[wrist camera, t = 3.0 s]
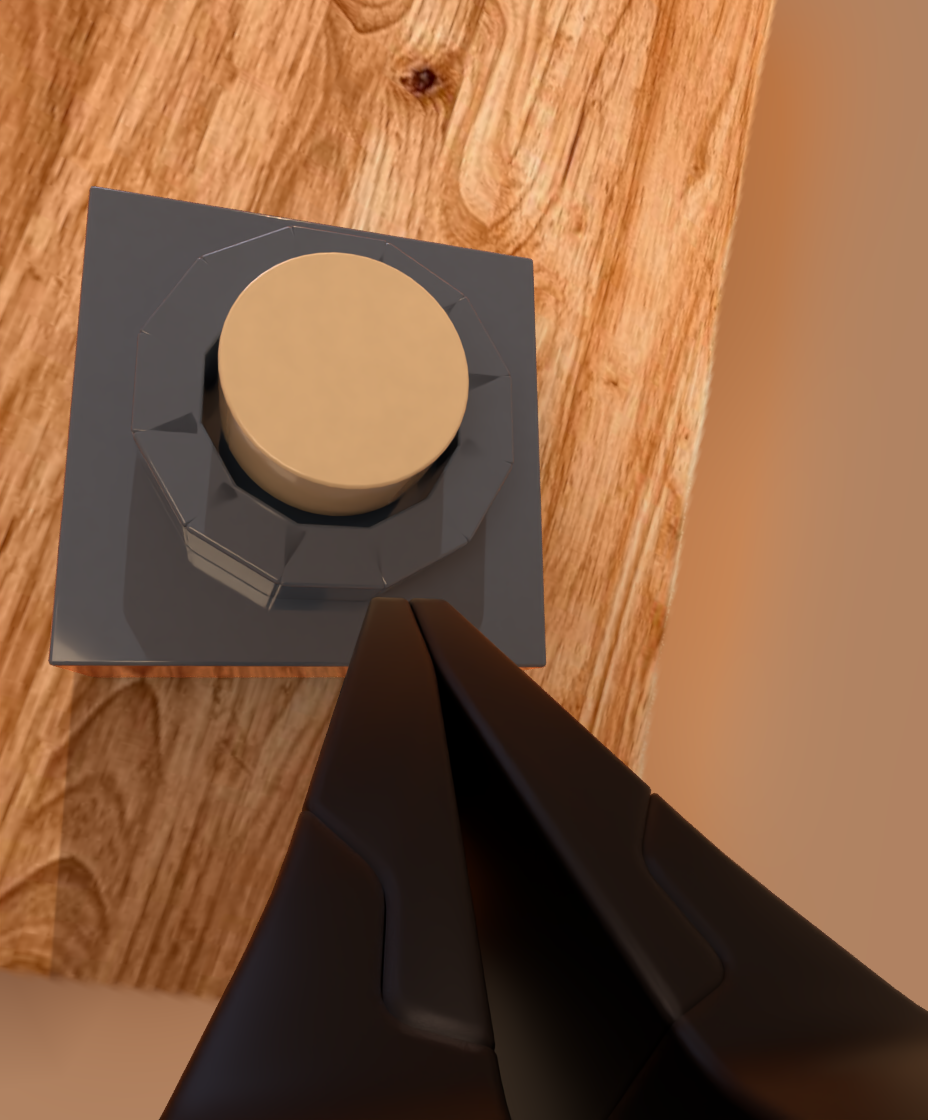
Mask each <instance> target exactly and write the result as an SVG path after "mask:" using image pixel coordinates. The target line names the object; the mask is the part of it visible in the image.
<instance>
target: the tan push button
mask: <svg viewBox="0 0 928 1120" xmlns="http://www.w3.org/2000/svg"><path fill="white" fill-rule="evenodd" d="M468 392H469V376H468V366H467V361H466V356H465V352H464V349H463V346H462V343H461V340H460V337H459V335H458V333H457V331H456V329H455V327H454V325H453V323H452V322H451V320H450V319H449V317H448V315H447V314H446V312H445V311H444V309H443V308H442V307H441V306H440V305H439V303H438V302H437V301H436V300H435V299H434V298H433V297H432V296H431V295H430V294H429V293H428V292H427V291H426V290H425V289H424V288H423V287H422V286H421V285H419V284H418V283H417V282H415V281H414V280H413V279H412V278H410V277H409V276H407V275H405V274H404V273H402V272H400V271H399V270H397V269H395V268H393V267H391V266H389V265H387V264H385V263H382V262H379V261H377V260H374V259H371V258H368V257H363V256H359V255H354V254H347V253H337V252H331V253H315V254H308V255H303V256H299V257H296V258H292V259H289V260H286V261H284V262H282V263H280V264H277V265H275V266H273V267H272V268H270V269H268V270H267V271H265V272H264V273H262V274H261V275H259V276H258V277H257V278H256V279H254V280H253V281H252V282H251V283H250V284H249V285H248V286H247V287H246V288H245V289H244V290H243V291H242V292H241V294H240V295H239V296H238V298H237V299H236V301H235V302H234V304H233V305H232V307H231V308H230V310H229V313H228V315H227V317H226V319H225V321H224V324H223V328H222V331H221V335H220V340H219V348H218V411H219V417H220V423H221V427H222V431H223V434H224V437H225V440H226V442H227V444H228V446H229V448H230V451H231V453H232V454H233V456H234V458H235V459H236V461H237V462H238V464H239V465H240V467H241V468H242V469H243V470H244V471H245V473H246V474H247V475H248V476H249V477H250V478H251V479H252V480H253V481H254V482H255V483H256V484H257V485H258V486H259V487H260V488H262V489H263V490H264V491H266V492H267V493H269V494H270V495H271V496H273V497H274V498H276V499H278V500H280V501H282V502H284V503H285V504H287V505H290V506H292V507H295V508H297V509H300V510H303V511H307V512H311V513H315V514H320V515H328V516H351V515H358V514H364V513H367V512H371V511H375V510H377V509H380V508H382V507H385V506H387V505H389V504H391V503H393V502H394V501H396V500H398V499H399V498H401V497H402V496H403V495H405V494H406V493H407V492H408V491H410V490H411V489H412V488H413V487H414V486H415V485H416V484H417V483H418V481H419V480H420V479H421V478H422V477H423V476H424V475H425V473H426V472H427V471H428V470H429V469H430V468H431V466H432V465H433V464H434V463H435V462H436V461H437V459H438V458H439V457H440V456H441V455H442V454H443V452H444V451H445V450H446V449H447V447H448V446H449V444H450V443H451V442H452V440H453V439H454V437H455V435H456V433H457V431H458V429H459V427H460V425H461V423H462V420H463V417H464V414H465V411H466V406H467V401H468Z"/></svg>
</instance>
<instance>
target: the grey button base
mask: <svg viewBox="0 0 928 1120" xmlns="http://www.w3.org/2000/svg"><path fill="white" fill-rule="evenodd" d="M331 252H337V253H347V254H354V255H359V256H363V257H368V258H371V259H374V260H377V261H379V262H382V263H385V264H387V265H389V266H391V267H393V268H395V269H397V270H399V271H400V272H402V273H404V274H405V275H407V276H409V277H410V278H412V279H413V280H414V281H415V282H417V283H418V284H419V285H421V286H422V287H423V288H424V289H425V290H426V291H427V292H428V293H429V294H430V295H431V296H432V297H433V298H434V299H435V300H436V301H437V302H438V303H439V305H440V306H441V307H442V308H443V309H444V311H445V312H446V314H447V315H448V317H449V319H450V320H451V322H452V323H453V325H454V327H455V329H456V331H457V333H458V335H459V337H460V340H461V343H462V346H463V349H464V352H465V356H466V361H467V366H468V376H469V392H468V401H467V406H466V411H465V414H464V417H463V420H462V423H461V425H460V427H459V429H458V431H457V433H456V435H455V437H454V439H453V440H452V442H451V443H450V444H449V446H448V447H447V449H446V450H445V451H444V452H443V454H442V455H441V456H440V457H439V458H438V459H437V461H436V462H435V463H434V464H433V465H432V466H431V468H430V469H429V470H428V471H427V472H426V473H425V475H424V476H423V477H422V478H421V479H420V480H419V481H418V483H417V484H416V485H415V486H414V487H413V488H412V489H411V490H410V491H408V492H407V493H406V494H405V495H403V496H402V497H401V498H399V499H398V500H396V501H394V502H393V503H391V504H389V505H387V506H385V507H382V508H380V509H377V510H375V511H371V512H367V513H364V514H358V515H351V516H328V515H320V514H315V513H311V512H307V511H303V510H300V509H297V508H295V507H292V506H290V505H287V504H285V503H284V502H282V501H280V500H278V499H276V498H274V497H273V496H271V495H270V494H269V493H267V492H266V491H264V490H263V489H262V488H260V487H259V486H258V485H257V484H256V483H255V482H254V481H253V480H252V479H251V478H250V477H249V476H248V475H247V474H246V473H245V471H244V470H243V469H242V468H241V467H240V465H239V464H238V462H237V461H236V459H235V458H234V456H233V454H232V453H231V451H230V448H229V446H228V444H227V442H226V440H225V437H224V434H223V431H222V427H221V423H220V417H219V411H218V348H219V340H220V335H221V331H222V328H223V324H224V321H225V319H226V317H227V315H228V313H229V310H230V308H231V307H232V305H233V304H234V302H235V301H236V299H237V298H238V296H239V295H240V294H241V292H242V291H243V290H244V289H245V288H246V287H247V286H248V285H249V284H250V283H251V282H252V281H253V280H254V279H256V278H257V277H258V276H259V275H261V274H262V273H264V272H265V271H267V270H268V269H270V268H272V267H273V266H275V265H277V264H280V263H282V262H284V261H286V260H289V259H292V258H296V257H299V256H303V255H308V254H315V253H331ZM374 597H392V598H404V599H406V600H407V601H408V602H409V601H410V600H411V599H413V598H426V599H443V600H445V601H447V602H448V603H450V604H451V605H452V606H453V607H454V608H455V609H456V610H457V611H458V612H459V613H460V614H462V615H463V616H464V617H465V618H466V619H467V620H468V621H469V622H470V623H471V624H472V625H474V626H475V627H476V628H477V629H478V630H479V631H480V632H481V633H482V634H483V635H484V636H486V637H487V638H488V639H489V640H490V641H491V642H492V643H493V644H494V645H495V646H496V647H497V648H499V649H500V650H501V651H502V652H503V653H504V654H505V655H506V656H507V657H508V658H509V659H511V660H512V661H513V662H514V663H515V664H516V665H517V666H518V667H519V668H520V669H521V670H529V669H536V668H542V667H545V665H546V647H545V616H544V585H543V554H542V524H541V493H540V462H539V431H538V400H537V369H536V338H535V307H534V276H533V260H532V259H529V258H523V257H517V256H511V255H505V254H499V253H493V252H487V251H481V250H475V249H469V248H463V247H457V246H451V245H445V244H439V243H433V242H427V241H421V240H415V239H409V238H403V237H397V236H391V235H385V234H379V233H373V232H367V231H361V230H355V229H349V228H343V227H337V226H331V225H325V224H319V223H313V222H307V221H301V220H295V219H289V218H283V217H277V216H271V215H265V214H259V213H253V212H247V211H241V210H235V209H229V208H223V207H217V206H211V205H205V204H199V203H193V202H187V201H181V200H175V199H169V198H163V197H157V196H151V195H145V194H139V193H133V192H127V191H121V190H115V189H109V188H103V187H97V186H91V188H90V190H89V201H88V213H87V224H86V236H85V247H84V259H83V270H82V282H81V293H80V305H79V316H78V328H77V339H76V351H75V362H74V373H73V385H72V396H71V408H70V419H69V431H68V442H67V454H66V465H65V477H64V488H63V500H62V511H61V523H60V534H59V546H58V557H57V569H56V580H55V591H54V603H53V614H52V626H51V637H50V649H49V660H48V661H49V664H50V665H53V666H56V667H59V668H63V669H67V670H70V671H74V672H77V673H81V674H84V675H88V676H91V677H345V676H346V673H347V670H348V666H349V663H350V660H351V657H352V654H353V651H354V648H355V645H356V642H357V639H358V636H359V633H360V630H361V627H362V624H363V621H364V618H365V614H366V611H367V608H368V605H369V603H370V600H371V599H372V598H374Z"/></svg>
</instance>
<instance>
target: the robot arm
mask: <svg viewBox="0 0 928 1120" xmlns="http://www.w3.org/2000/svg"><path fill="white" fill-rule="evenodd" d="M159 1120H928V1011H926V1010H925V1009H923V1008H922V1007H920V1006H918V1005H917V1004H915V1003H914V1002H913V1001H912V1000H910V999H909V998H907V997H906V996H905V995H903V994H902V993H901V992H899V991H898V990H896V989H895V988H894V987H892V986H891V985H890V984H889V983H887V982H886V981H885V980H883V979H882V978H881V977H880V976H878V975H877V974H876V973H874V972H873V971H872V970H871V969H869V968H868V967H867V966H866V965H864V964H863V963H862V962H860V961H859V960H858V959H857V958H855V957H854V956H853V955H851V954H850V953H849V952H848V951H846V950H845V949H844V948H842V947H841V946H840V945H838V944H837V943H836V942H835V941H833V940H832V939H831V938H830V937H828V936H827V935H826V934H824V933H823V932H822V931H821V930H819V929H818V928H817V927H816V926H814V925H813V924H812V923H810V922H809V921H808V920H806V919H805V918H804V917H803V916H801V915H800V914H799V913H798V912H796V911H795V910H794V909H793V908H791V907H790V906H789V905H787V904H786V903H785V902H784V901H782V900H781V899H780V898H778V897H777V896H776V895H775V894H773V893H772V892H771V891H770V890H768V889H767V888H766V887H765V886H763V885H762V884H761V883H760V882H758V881H757V880H756V879H755V878H754V877H752V876H751V875H750V874H749V873H747V872H746V871H745V870H744V869H742V868H741V867H740V866H739V865H738V864H736V863H735V862H734V861H733V860H731V859H730V858H729V857H728V856H726V855H725V854H724V853H723V852H722V851H720V849H718V848H717V847H716V846H715V845H714V844H713V843H711V842H710V841H709V840H708V839H707V838H706V837H705V836H704V835H702V834H701V833H700V832H699V831H698V830H697V829H696V828H694V827H693V826H692V825H691V824H690V823H689V822H688V821H686V820H685V819H684V818H683V817H682V816H681V815H680V814H679V813H678V812H677V811H675V810H674V809H673V808H672V807H671V806H670V805H669V804H668V803H667V802H665V800H663V799H662V798H661V797H660V796H659V795H658V794H656V793H653V794H651V789H650V787H649V786H648V785H647V784H646V783H645V782H643V781H642V780H641V779H640V778H639V777H638V776H637V775H636V774H635V773H634V772H633V771H632V770H630V769H629V768H628V767H627V766H626V765H625V764H624V763H623V762H622V761H621V760H620V759H618V758H617V757H616V756H615V755H614V754H613V753H612V752H611V751H610V750H609V749H608V748H606V747H605V746H604V745H603V744H602V743H601V742H600V741H599V740H598V739H597V738H596V737H594V736H593V735H592V734H591V733H590V732H589V731H588V730H587V729H586V728H585V727H584V726H582V725H581V724H580V723H579V722H578V721H577V720H576V719H575V718H574V717H573V716H572V715H570V714H569V713H568V712H567V711H566V710H565V709H564V708H563V707H562V706H561V705H560V704H559V703H557V702H556V701H555V700H554V699H553V698H552V697H551V696H550V695H549V694H548V693H547V692H545V691H544V690H543V689H542V688H541V687H540V686H539V685H538V684H537V683H536V682H535V681H533V680H532V679H531V678H530V677H529V676H528V675H527V674H526V673H525V672H524V671H523V670H521V669H520V668H519V667H518V666H517V665H516V664H515V663H514V662H513V661H512V660H511V659H509V658H508V657H507V656H506V655H505V654H504V653H503V652H502V651H501V650H500V649H499V648H497V647H496V646H495V645H494V644H493V643H492V642H491V641H490V640H489V639H488V638H487V637H486V636H484V635H483V634H482V633H481V632H480V631H479V630H478V629H477V628H476V627H475V626H474V625H472V624H471V623H470V622H469V621H468V620H467V619H466V618H465V617H464V616H463V615H462V614H460V613H459V612H458V611H457V610H456V609H455V608H454V607H453V606H452V605H451V604H450V603H448V602H447V601H445V600H443V599H426V598H413V599H411V600H410V601H409V602H408V601H407V600H406V599H404V598H392V597H374V598H372V599H371V600H370V603H369V605H368V608H367V611H366V614H365V618H364V621H363V624H362V627H361V630H360V633H359V636H358V639H357V642H356V645H355V648H354V651H353V654H352V657H351V660H350V663H349V666H348V670H347V673H346V676H345V679H344V682H343V685H342V688H341V691H340V694H339V697H338V700H337V703H336V706H335V709H334V712H333V715H332V718H331V721H330V725H329V728H328V731H327V734H326V737H325V740H324V743H323V746H322V749H321V752H320V755H319V758H318V761H317V764H316V767H315V770H314V773H313V777H312V780H311V783H310V786H309V789H308V792H307V795H306V798H305V801H304V804H303V807H302V812H301V813H300V815H299V818H298V821H297V824H296V827H295V830H294V833H293V836H292V839H291V842H290V845H289V848H288V851H287V854H286V856H285V859H284V862H283V864H282V867H281V870H280V872H279V875H278V878H277V880H276V883H275V886H274V888H273V891H272V894H271V896H270V898H269V900H268V902H267V904H266V907H265V909H264V911H263V913H262V915H261V917H260V920H259V922H258V924H257V926H256V928H255V930H254V933H253V935H252V937H251V939H250V941H249V943H248V945H247V948H246V950H245V952H244V954H243V956H242V958H241V960H240V962H239V964H238V966H237V968H236V970H235V972H234V974H233V976H232V978H231V980H230V982H229V984H228V985H227V987H226V989H225V991H224V993H223V995H222V997H221V999H220V1001H219V1003H218V1005H217V1007H216V1009H215V1011H214V1013H213V1015H212V1017H211V1019H210V1021H209V1023H208V1025H207V1027H206V1029H205V1031H204V1033H203V1035H202V1037H201V1039H200V1041H199V1043H198V1045H197V1047H196V1049H195V1051H194V1053H193V1055H192V1057H191V1059H190V1061H189V1063H188V1065H187V1067H186V1069H185V1071H184V1073H183V1074H182V1076H181V1079H180V1080H179V1083H178V1084H177V1086H176V1088H175V1090H174V1093H173V1094H172V1097H171V1098H170V1100H169V1102H168V1104H167V1106H166V1108H165V1110H164V1112H163V1113H162V1115H161V1117H160V1119H159Z"/></svg>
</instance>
